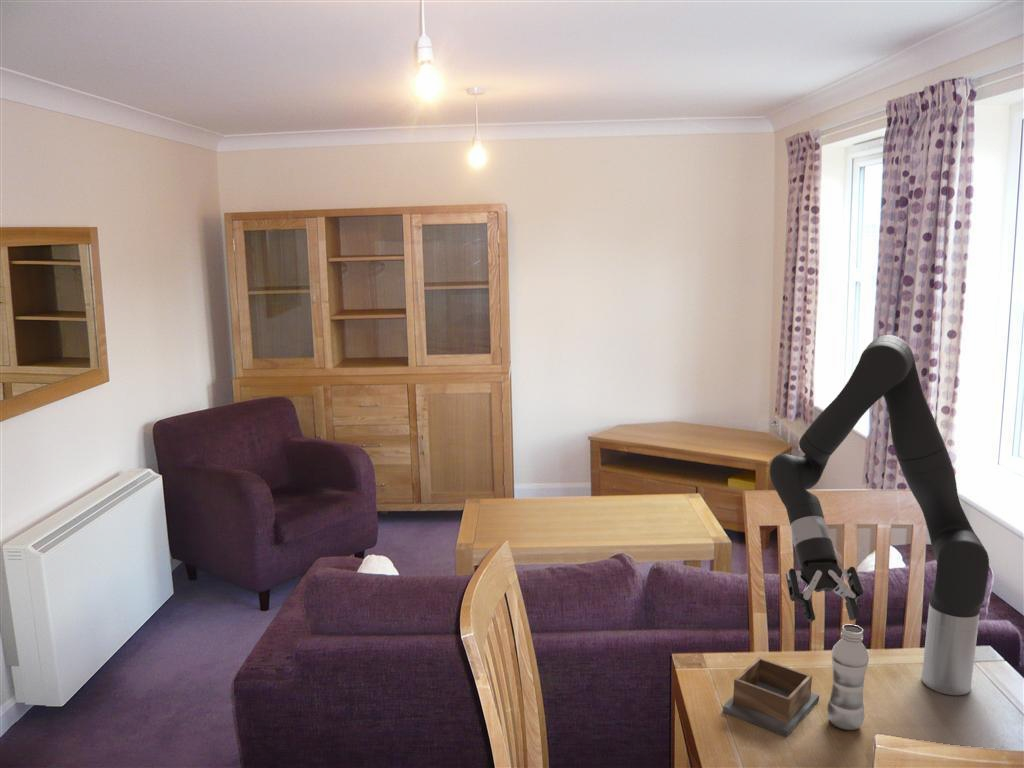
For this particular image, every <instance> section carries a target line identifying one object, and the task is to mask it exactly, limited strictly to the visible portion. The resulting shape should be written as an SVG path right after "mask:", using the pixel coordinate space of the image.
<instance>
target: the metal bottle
mask: <svg viewBox="0 0 1024 768" xmlns="http://www.w3.org/2000/svg"><path fill="white" fill-rule="evenodd" d="M840 638H841V639H839V640H838V641H837V642H836V643H834V645H833V647H832V650H831V661H832V662H831V664H832V687H831V691H830V696H829V697H830V698H829V700H828V703H827V708H826V710H827V717H828V719H829V721H830V723H831V724H832V725H833V726H835V727H837V728H838V729H840V730H846V731H854V730H855V731H856V730H857V729H859V728H860V727H862V726H863V723H864V720H865V717H866V716H865V715H866V714H865V708H864V707H865V706H864V683H865V676H866V672H867V668H868V664H869V659H870V655H869V652H868V650H867V649H866V646H865V645H864V644H863V642H862V641H863V640H864V629H863V627H861V626H859V625H856V624H850V623H848V624H844V625H842V626H841V632H840Z"/></svg>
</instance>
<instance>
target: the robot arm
mask: <svg viewBox="0 0 1024 768" xmlns="http://www.w3.org/2000/svg"><path fill="white" fill-rule="evenodd" d="M862 351H863V352H862V353H861V355H860V357H859V360H858V363H857V365H856V366H855V368H854V370H853V372H852V374H851V376H850V377H849V379H848V381H847V382H846V383H845V385H844V387H842V390H841V391H840V392H839V393H838V395H837V396H836V397H835V398H834V399H833V400H832V401H831V402H830V403H829V404H828V405H827V406H826V407H825V409H823V411H821V413H820V414H819V415H818V416H817V417H816V418H815V420H813V422H812V423H811V424H810V426H809V427H808V428H807V429H806V430H805V431H804V432H803V435H802V436H801V437H800V439H799V440H798V441H799V442H798V445H799V448H800V450H801V451H802V453H803V456H801V457H800V456H797V455H793V454H789V453H780V454H778V455H776V456H775V457H773V459H772V461H771V463H770V465H769V477H770V480H771V483H772V485H773V488H774V489H775V491H776V493H777V495H778V497H779V499H780V501H781V502H782V504H783V506H784V507H785V509H786V514H787V518H788V522H789V525H790V532H791V538H792V543H793V546H794V547H793V548H794V551H795V554H796V559H797V562H798V563H797V564H798V566H799V570H796V569H795V568H790V569H789V570H788V571H787V572H786V573H785V578H786V584H787V588H788V594H789V595H788V596H789V599H790V601H792V602H798V603H800V605H801V608H802V613H803V617H804V619H805V620H807V622H808V623H813V622H814V621H815V620H816V616H815V611H814V607H813V603H812V600H810V597H811V596H812V594H813V592H816V593H821V592H829V593H830V592H834V593H835V594H836V595H838V596H840V597H841V598H842V599H843V600H844V601H845V602H844V604H845V607H846V611H847V615H848V618H849V620H850V621H856V620H857V619H858V616H859V615H860V612H859V607H858V604H857V601H856V600H858V599H859V598H860V597H861V596H862V595H864V589H863V586H862V585H861V581H860V579H859V576H858V572H857V569H856V568H855V567H854V566H849V568H841V567H840V566H839V564H838V558H837V555H836V554H837V553H836V551H835V546H834V544H833V540H832V537H831V533H830V530H829V529H830V528H829V526H828V524H827V522H826V519H825V516H824V512H823V508H822V505H821V502H820V500H819V498H818V496H817V495H815V494H814V493H811V492H810V491H808V490H810V489H812V488H813V487H815V486H816V484H818V483H819V482H820V479H821V477H822V476H823V473H824V470H825V469H826V466H827V464H828V461H829V459H830V457H831V456H832V455H833V454H834V452H835V451H836V450H837V449H838V448H839V447H840V445H841V444H842V443H843V442H844V440H845V439H846V438H847V437H848V435H849V434H850V433H851V431H853V429H854V427H855V426H856V424H858V422H859V421H860V419H861V418H862V417H863V416H864V415H865V414H866V412H867V411H868V410H869V409H871V407H872V406H873V405H874V404H875V403H876V402H877V401H879V400H880V399H881V398H882V397H883V398H884V401H885V404H886V407H887V411H888V418H889V425H890V427H889V428H890V434H891V440H892V446H893V450H894V453H895V457H896V458H897V461H898V464H899V467H900V469H901V471H902V474H903V476H904V479H905V482H906V483H907V486H908V487H909V490H910V492H911V494H912V495H913V497H914V498H915V501H916V502H917V504H918V505H919V508H920V510H921V511H922V515H923V517H924V520H925V524H926V528H927V531H928V536H929V539H930V544H931V550H932V554H933V557H934V559H935V561H936V571H935V572H936V573H935V579H934V587H933V588H932V589H931V591H930V594H929V603H928V611H927V621H926V622H927V623H926V633H925V642H924V643H925V644H924V650H923V652H924V653H923V661H922V671H921V681H922V683H923V684H924V685H925V686H926V687H928V688H929V689H930V690H933V691H935V692H938V693H939V694H944V695H948V696H964V695H967V694H969V693H970V692H971V690H972V680H973V673H974V667H975V666H974V664H975V657H976V656H975V655H976V647H977V641H978V640H977V638H978V631H979V621H980V614H981V608H982V604H983V603H984V600H985V597H986V591H987V583H988V578H989V569H990V557H989V554H988V552H987V550H986V548H985V546H984V545H983V543H982V541H981V540H980V538H979V537H978V535H977V534H976V533H975V531H974V528H973V527H972V525H971V523H970V521H969V519H968V517H967V515H966V513H965V511H964V509H963V507H962V505H961V502H960V499H959V498H960V497H959V494H958V487H957V486H958V485H957V481H956V475H955V474H956V473H955V471H954V465H953V462H952V461H951V456H950V455H949V452H948V449H947V445H946V444H945V441H944V439H943V436H942V435H941V431H940V430H939V427H938V425H937V422H936V420H935V417H934V415H933V413H932V410H931V408H930V407H929V404H928V402H927V399H926V397H925V395H924V391H923V388H922V385H921V381H920V378H919V373H918V369H917V364H916V360H915V356H914V353H913V350H912V348H911V347H910V346H909V343H907V342H906V341H905V340H904V339H902V338H901V337H898V336H897V335H894V334H893V335H892V334H885V335H880V336H878V337H876V338H874V339H873V340H872V341H871V342H870V343H869V344H868V345H867V346H866V347H865V349H864V350H862ZM842 577H843V578H844V580H846V581H847V583H848V584H847V583H846V582H844V581H843V579H841V578H842ZM799 579H801V580H802V581H803V582H804V583H805V584H806V585H805V587H804V590H803V591H802V593H801V592H800V588H799ZM848 586H849V587H848Z"/></svg>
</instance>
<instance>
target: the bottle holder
mask: <svg viewBox="0 0 1024 768" xmlns="http://www.w3.org/2000/svg"><path fill="white" fill-rule="evenodd" d="M812 680H813V675H811V674H808V673H805V672H804V671H803V672H802V671H800V670H797V669H794V668H790V667H788V666H785V665H783V664H779V663H777V662H774V661H771V660H768V659H766V658H764V657H763V658H762V657H760V656H758V657H757V658H756V659H755V660H754V661H753V662H752V663H751V664H750V665H748V667H746V668H745V669H744V670H743V671H742V672H741V673H740V674H738V675H737V676H736V677H735V678H734V680H733V696H732V697H731V698H730V699H729V700H728V701H727V702H726V703H725V704H724V705H723V706H722V712H724V713H726V714H728V715H731V716H733V717H735V718H738V719H740V720H743V721H745V722H747V723H751V724H754V725H755V726H758V727H760V728H764V729H765V730H768V731H770V732H773V733H776V734H778V735H780V736H783V737H786V738H787V737H788V736H789V735H790V734H791V733H792V732H793V731H794V730H795V728H797V726H798V725H799V724H800V723H799V722H801V721H803V720H804V718H805V717H806V716H807V715H808V714H809V713H810V711H811V710H812V709H813V708H814V707H815V706H816V705H817V704H818V702H819V701H820V694H818V693H815V692H812V684H813V683H812V682H813V681H812ZM798 723H799V724H798ZM791 731H792V732H791Z"/></svg>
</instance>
